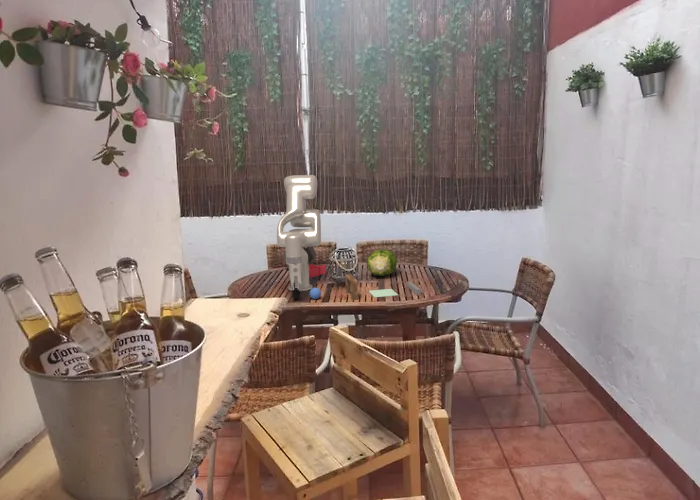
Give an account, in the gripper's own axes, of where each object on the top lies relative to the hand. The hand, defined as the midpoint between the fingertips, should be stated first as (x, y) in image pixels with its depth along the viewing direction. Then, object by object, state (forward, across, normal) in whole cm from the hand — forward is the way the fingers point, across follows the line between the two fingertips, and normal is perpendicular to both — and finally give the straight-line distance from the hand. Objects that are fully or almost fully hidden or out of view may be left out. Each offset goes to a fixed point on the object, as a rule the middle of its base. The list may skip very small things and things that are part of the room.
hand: (296, 297), depth 255 cm
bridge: (+2, 0, -27) cm, 27 cm away
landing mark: (+2, 0, -43) cm, 43 cm away
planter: (+1, +67, -9) cm, 68 cm away
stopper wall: (+2, 0, -59) cm, 59 cm away
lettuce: (+2, +33, -51) cm, 61 cm away
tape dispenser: (+2, +51, -15) cm, 53 cm away
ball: (-1, 0, -9) cm, 9 cm away
